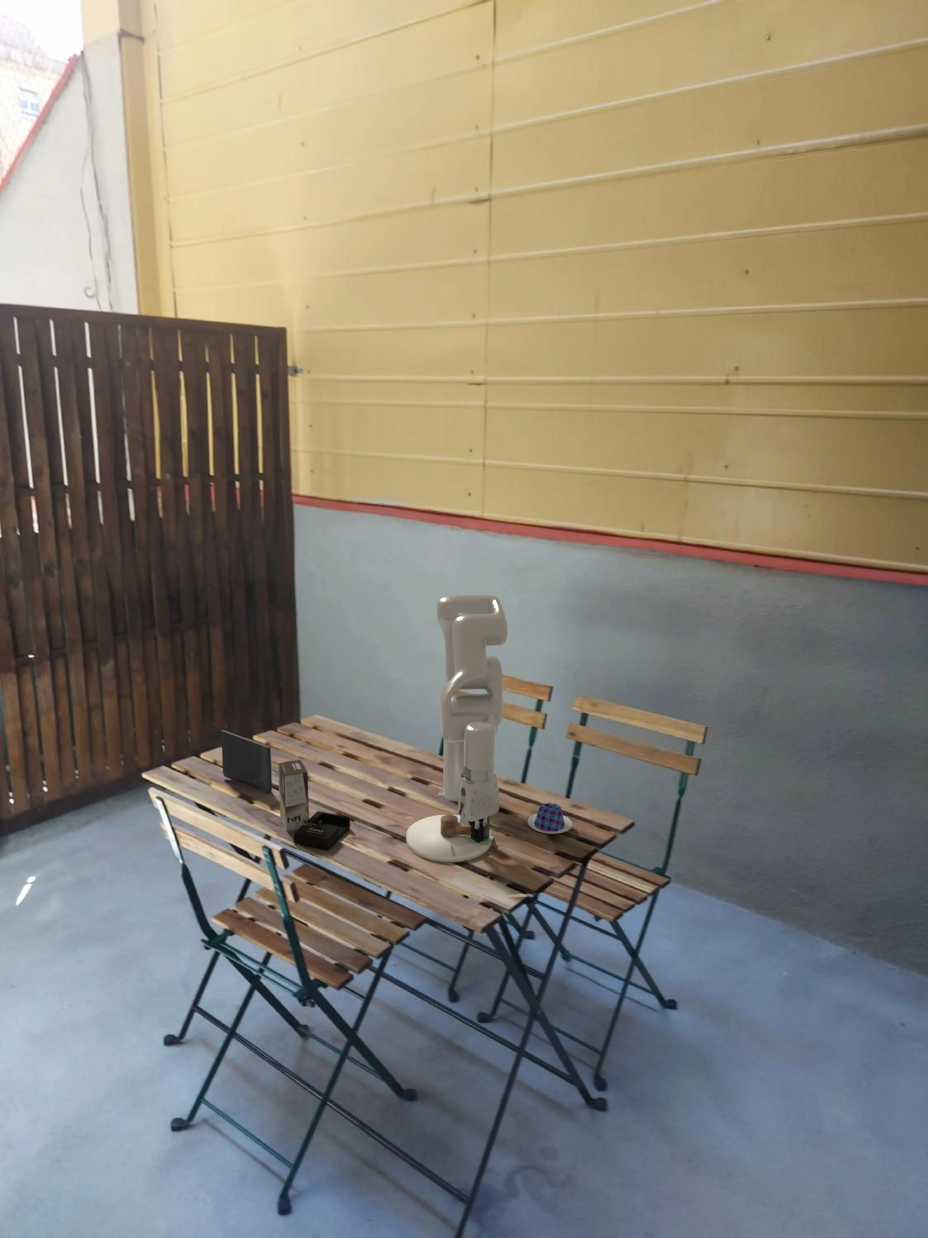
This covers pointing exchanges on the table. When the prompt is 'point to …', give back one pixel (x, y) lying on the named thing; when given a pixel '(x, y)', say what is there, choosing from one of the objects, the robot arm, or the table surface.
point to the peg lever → (459, 827)
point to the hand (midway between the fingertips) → (477, 840)
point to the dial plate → (443, 842)
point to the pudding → (550, 819)
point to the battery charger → (322, 830)
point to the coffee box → (293, 794)
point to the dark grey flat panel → (246, 761)
